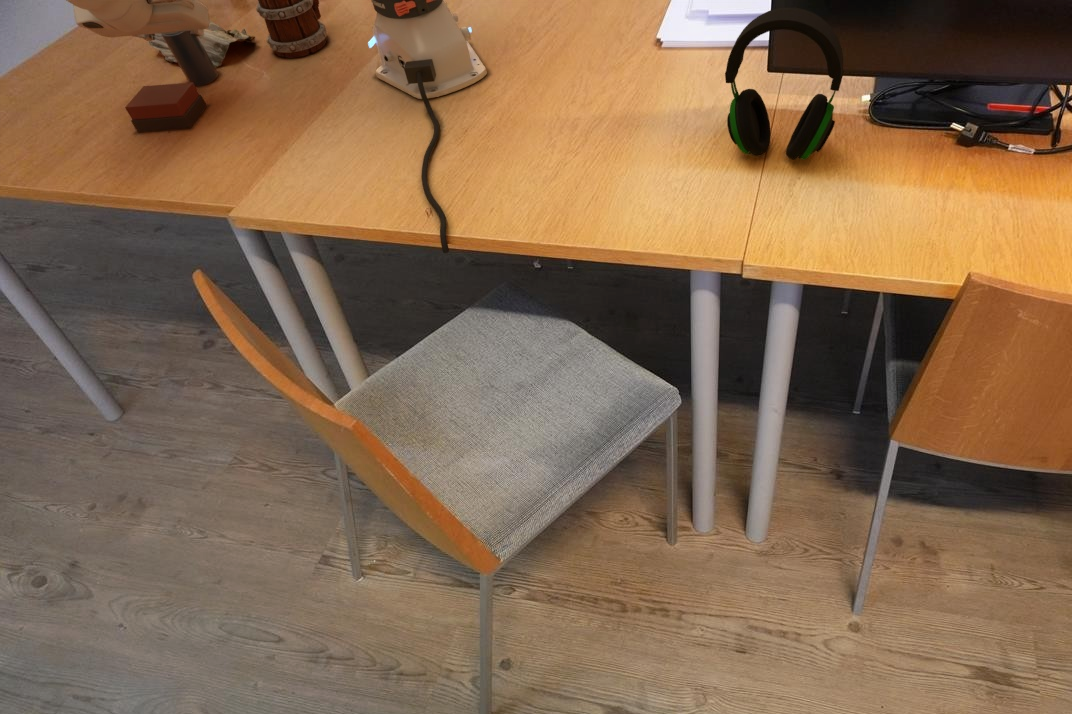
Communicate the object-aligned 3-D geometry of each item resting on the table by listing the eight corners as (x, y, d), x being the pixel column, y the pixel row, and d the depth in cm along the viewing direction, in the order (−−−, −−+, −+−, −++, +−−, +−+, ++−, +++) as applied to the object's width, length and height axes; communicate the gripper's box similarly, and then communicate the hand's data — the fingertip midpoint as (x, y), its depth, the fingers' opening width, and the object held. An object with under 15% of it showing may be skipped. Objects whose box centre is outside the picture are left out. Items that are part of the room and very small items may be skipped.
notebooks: (190, 128, 137) (176, 103, 133) (137, 132, 138) (122, 107, 134) (207, 106, 142) (194, 81, 139) (156, 109, 143) (142, 85, 140)
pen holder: (212, 84, 148) (184, 34, 140) (185, 87, 148) (155, 36, 140) (221, 68, 151) (194, 17, 143) (194, 70, 152) (166, 20, 143)
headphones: (826, 175, 109) (846, 32, 94) (717, 164, 114) (720, 26, 99) (835, 140, 115) (856, 0, 100) (731, 131, 119) (736, -5, 104)
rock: (225, 88, 153) (275, 46, 160) (210, 57, 147) (261, 14, 154) (139, 55, 159) (190, 15, 166) (121, 23, 153) (174, -16, 160)
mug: (255, 57, 153) (230, -28, 144) (303, 38, 163) (283, -43, 154) (302, 62, 150) (279, -24, 140) (348, 43, 160) (330, -40, 150)
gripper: (179, -25, 126) (227, 11, 140) (63, -14, 128) (123, 21, 142) (182, 15, 127) (230, 47, 141) (67, 25, 129) (126, 56, 143)
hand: (175, 34), depth 141 cm, fingers open, 8 cm apart
